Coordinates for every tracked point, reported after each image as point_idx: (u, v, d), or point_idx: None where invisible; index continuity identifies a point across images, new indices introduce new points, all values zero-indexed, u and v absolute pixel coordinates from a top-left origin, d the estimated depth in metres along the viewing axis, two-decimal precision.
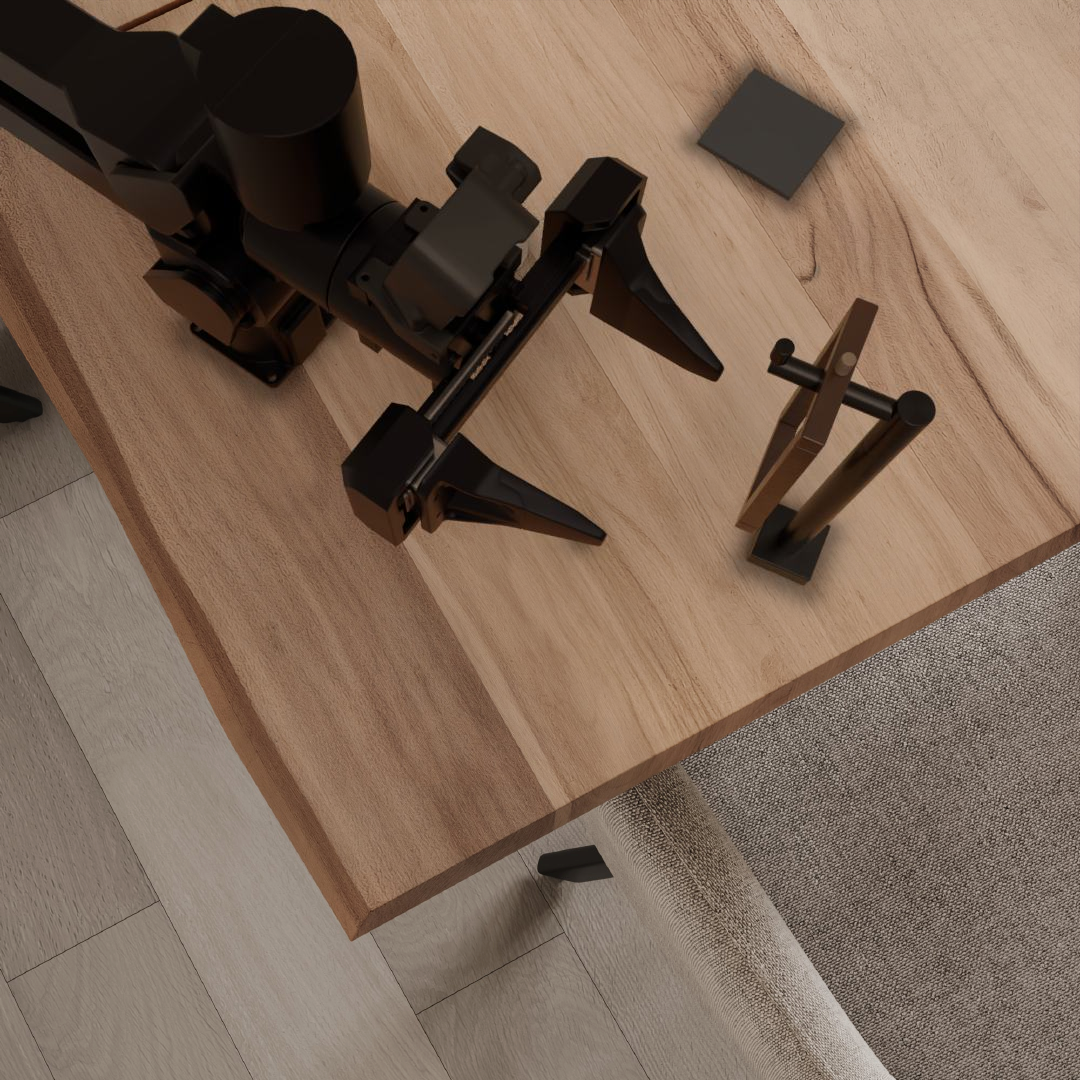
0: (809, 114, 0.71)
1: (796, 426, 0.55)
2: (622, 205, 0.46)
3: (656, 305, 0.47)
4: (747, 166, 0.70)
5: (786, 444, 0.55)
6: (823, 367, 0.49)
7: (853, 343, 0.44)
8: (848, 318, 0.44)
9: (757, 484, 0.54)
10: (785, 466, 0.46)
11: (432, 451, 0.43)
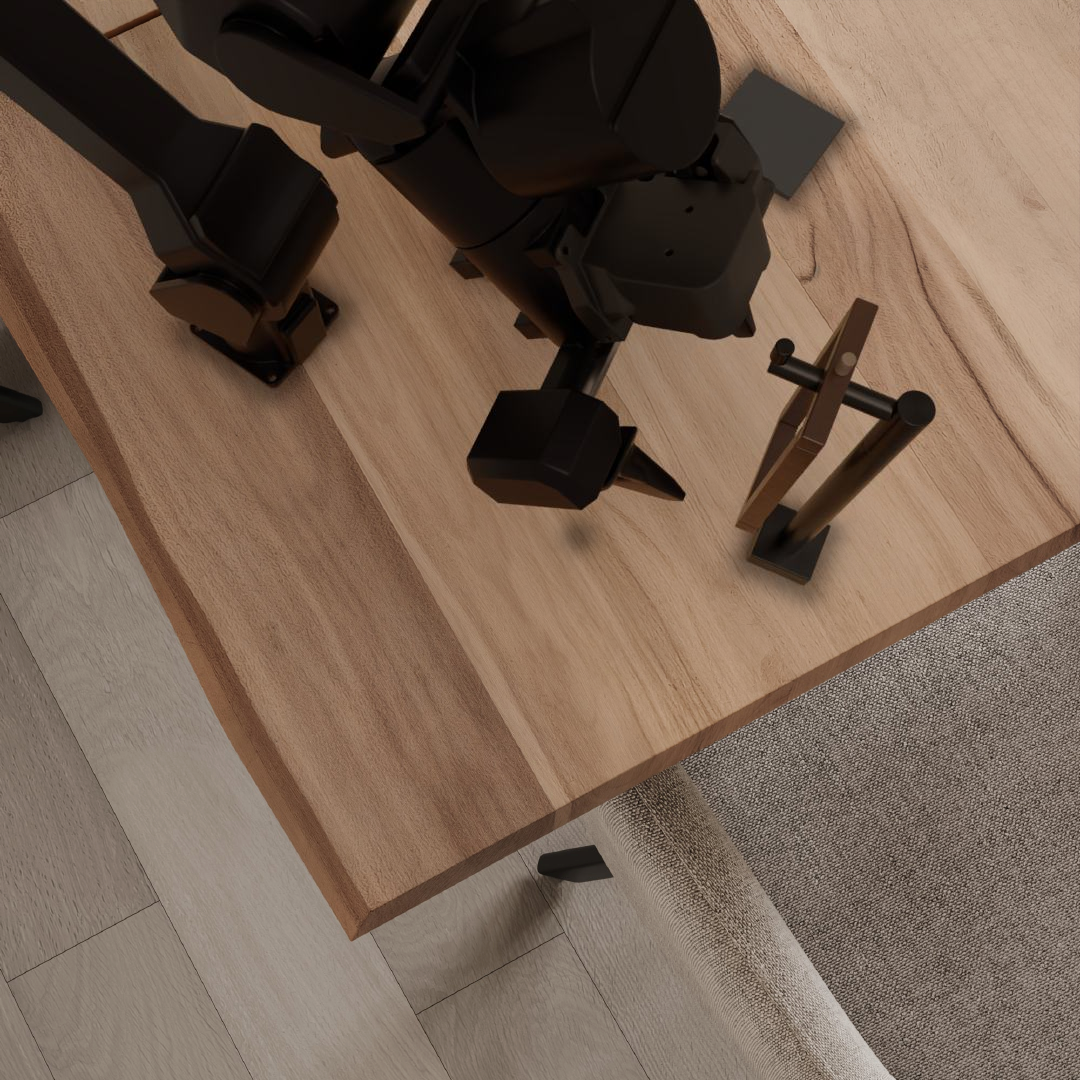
0: (809, 114, 0.71)
1: (796, 426, 0.55)
2: None
3: None
4: None
5: (786, 444, 0.55)
6: (823, 367, 0.49)
7: (853, 343, 0.44)
8: (848, 318, 0.44)
9: (757, 484, 0.54)
10: (785, 466, 0.46)
11: None
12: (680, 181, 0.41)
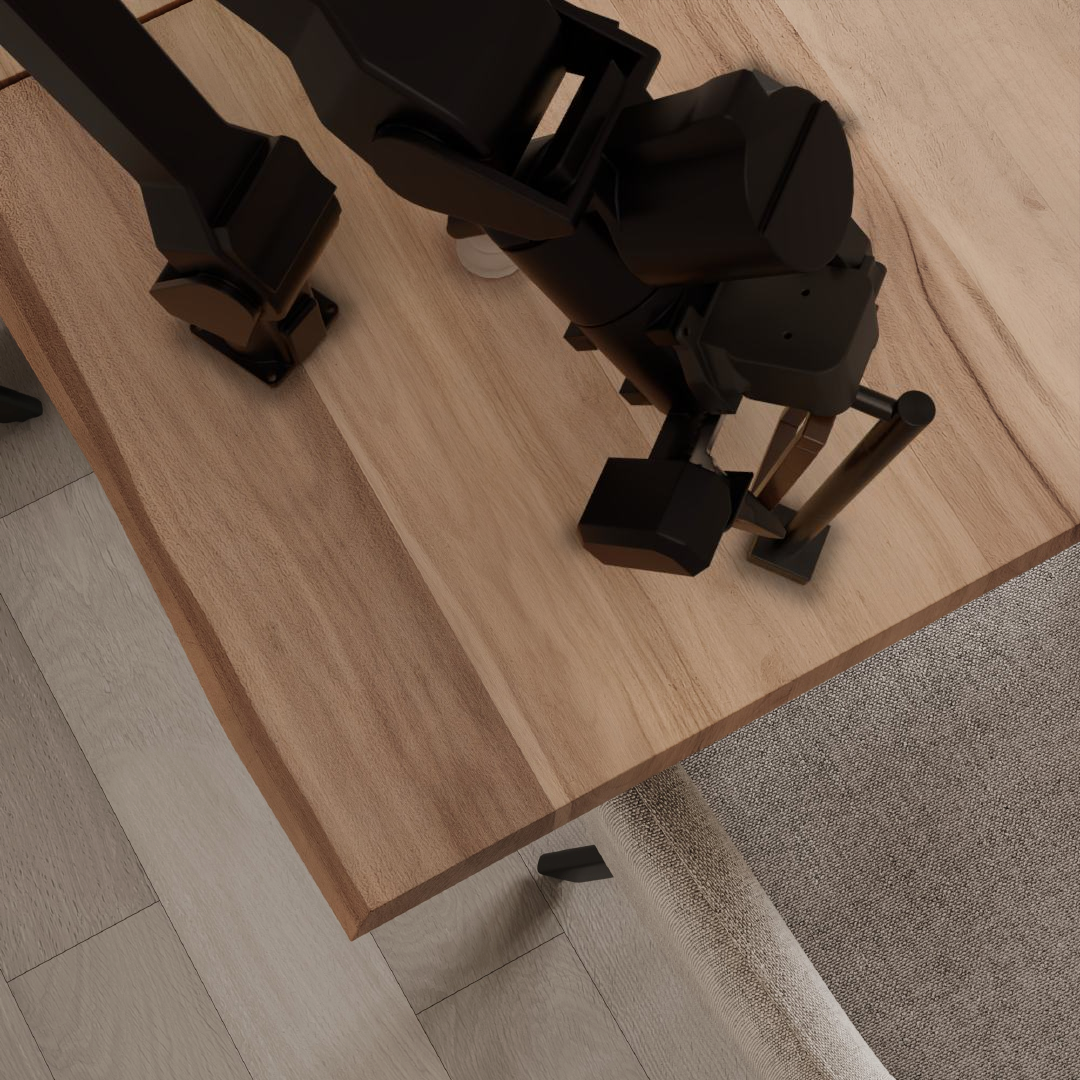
0: None
1: (796, 426, 0.55)
2: None
3: None
4: None
5: (786, 444, 0.55)
6: None
7: None
8: None
9: (757, 484, 0.54)
10: (785, 466, 0.46)
11: None
12: None
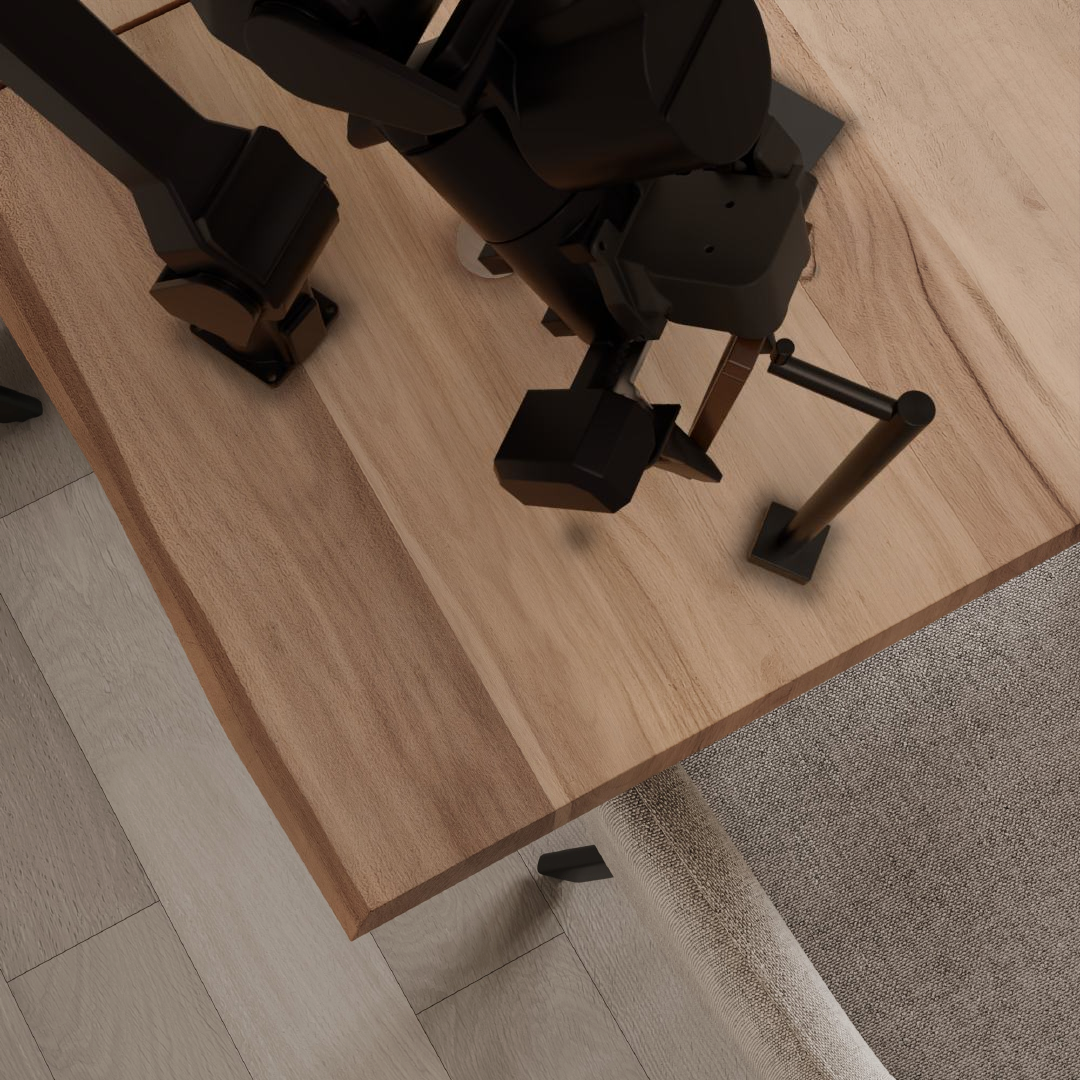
0: (809, 114, 0.71)
1: None
2: None
3: None
4: None
5: None
6: None
7: None
8: None
9: None
10: (714, 397, 0.43)
11: None
12: (719, 175, 0.40)
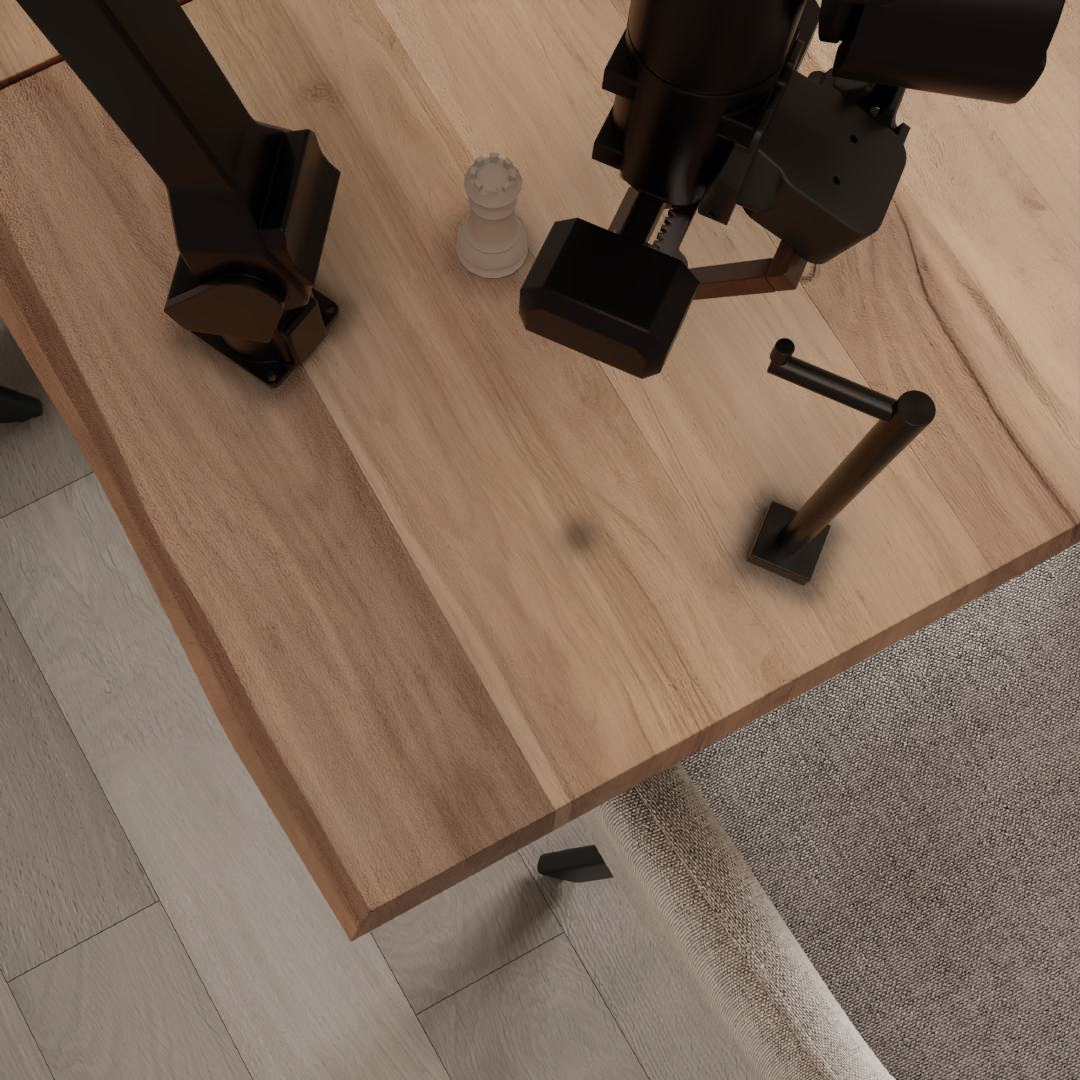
0: None
1: None
2: None
3: None
4: None
5: None
6: None
7: None
8: None
9: None
10: (724, 285, 0.46)
11: None
12: (847, 101, 0.41)
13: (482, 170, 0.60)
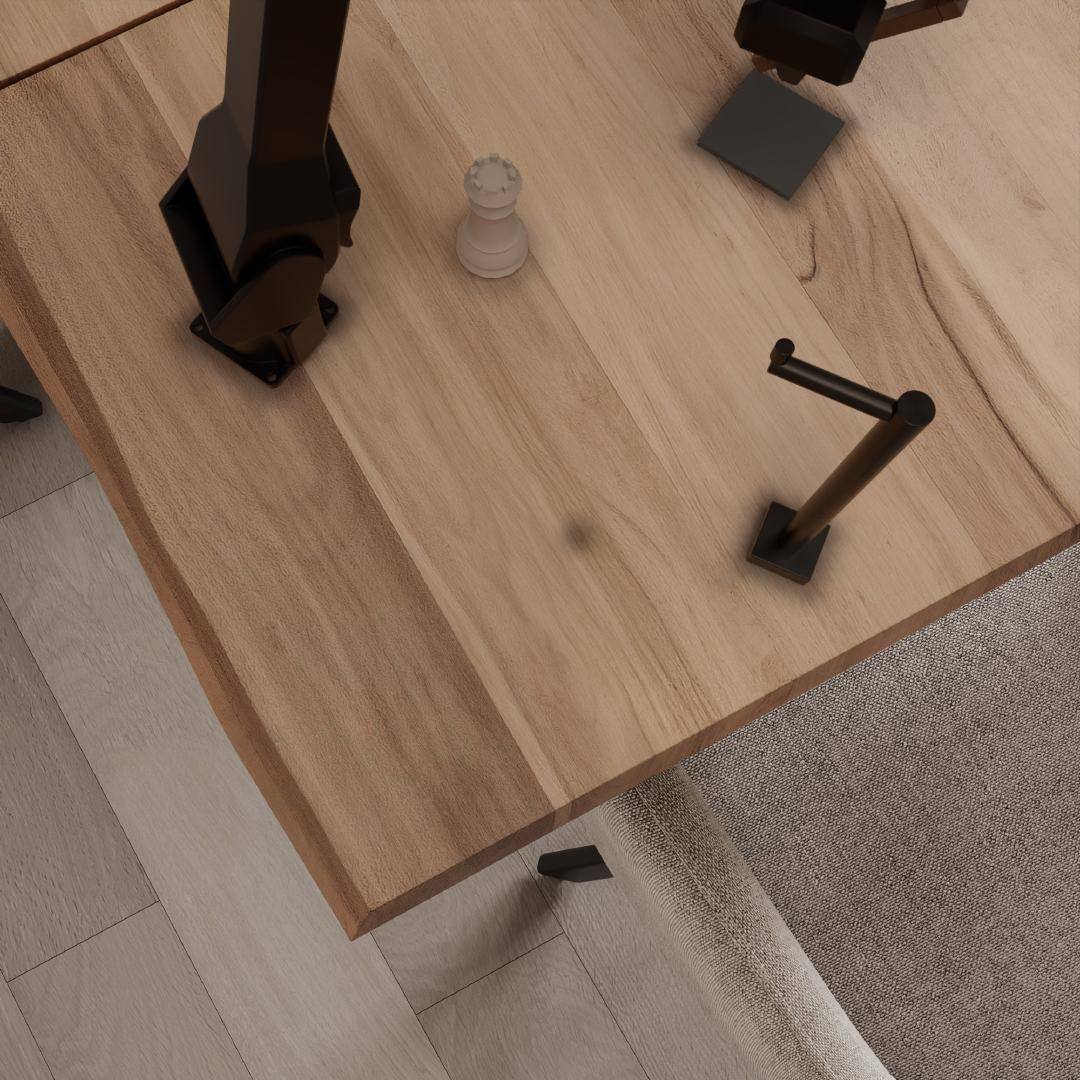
0: (809, 114, 0.71)
1: None
2: None
3: None
4: (747, 166, 0.70)
5: None
6: None
7: None
8: None
9: None
10: (896, 21, 0.55)
11: None
12: None
13: (482, 170, 0.60)
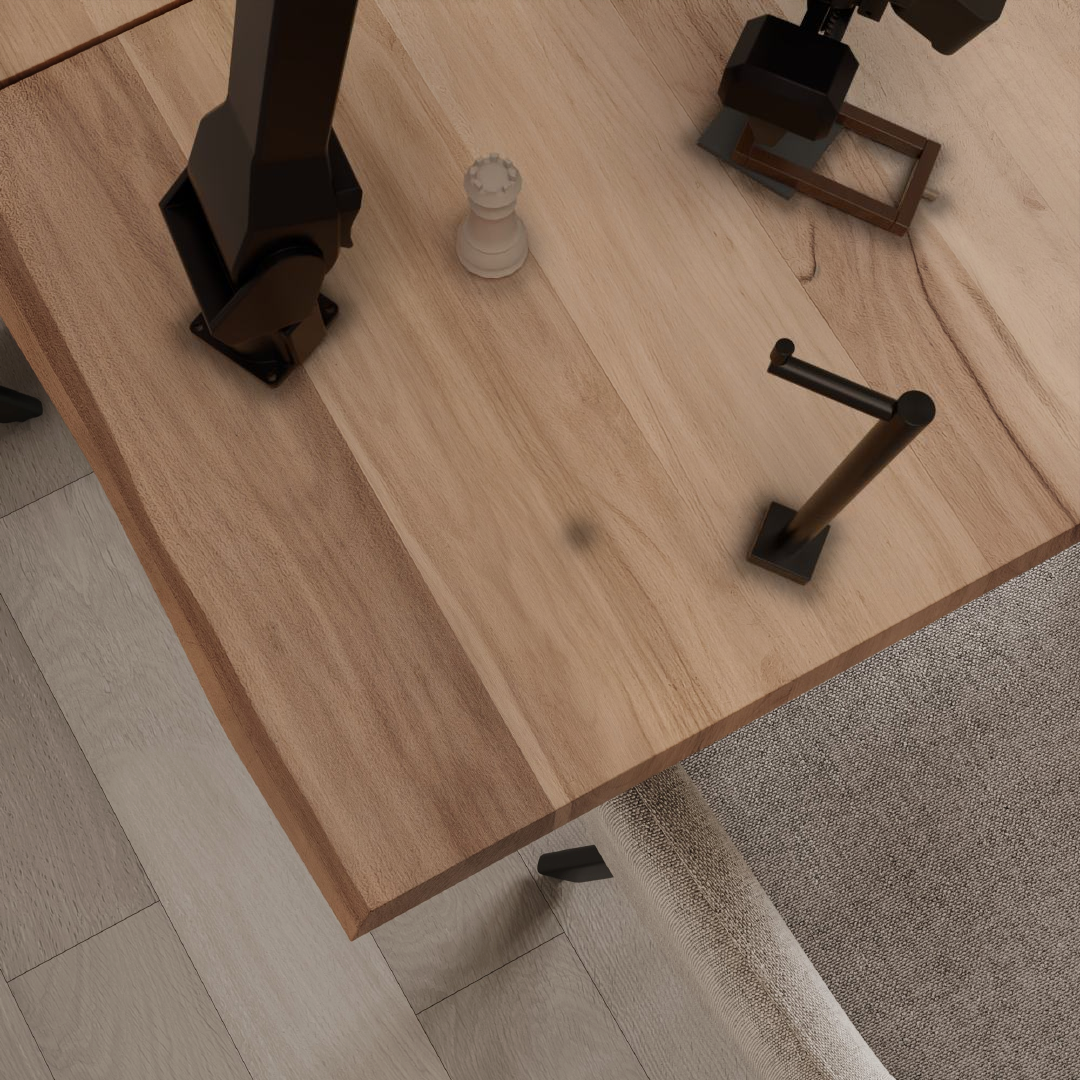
0: None
1: None
2: None
3: None
4: None
5: None
6: (870, 130, 0.70)
7: None
8: (936, 156, 0.70)
9: None
10: (861, 210, 0.69)
11: None
12: None
13: (482, 170, 0.60)
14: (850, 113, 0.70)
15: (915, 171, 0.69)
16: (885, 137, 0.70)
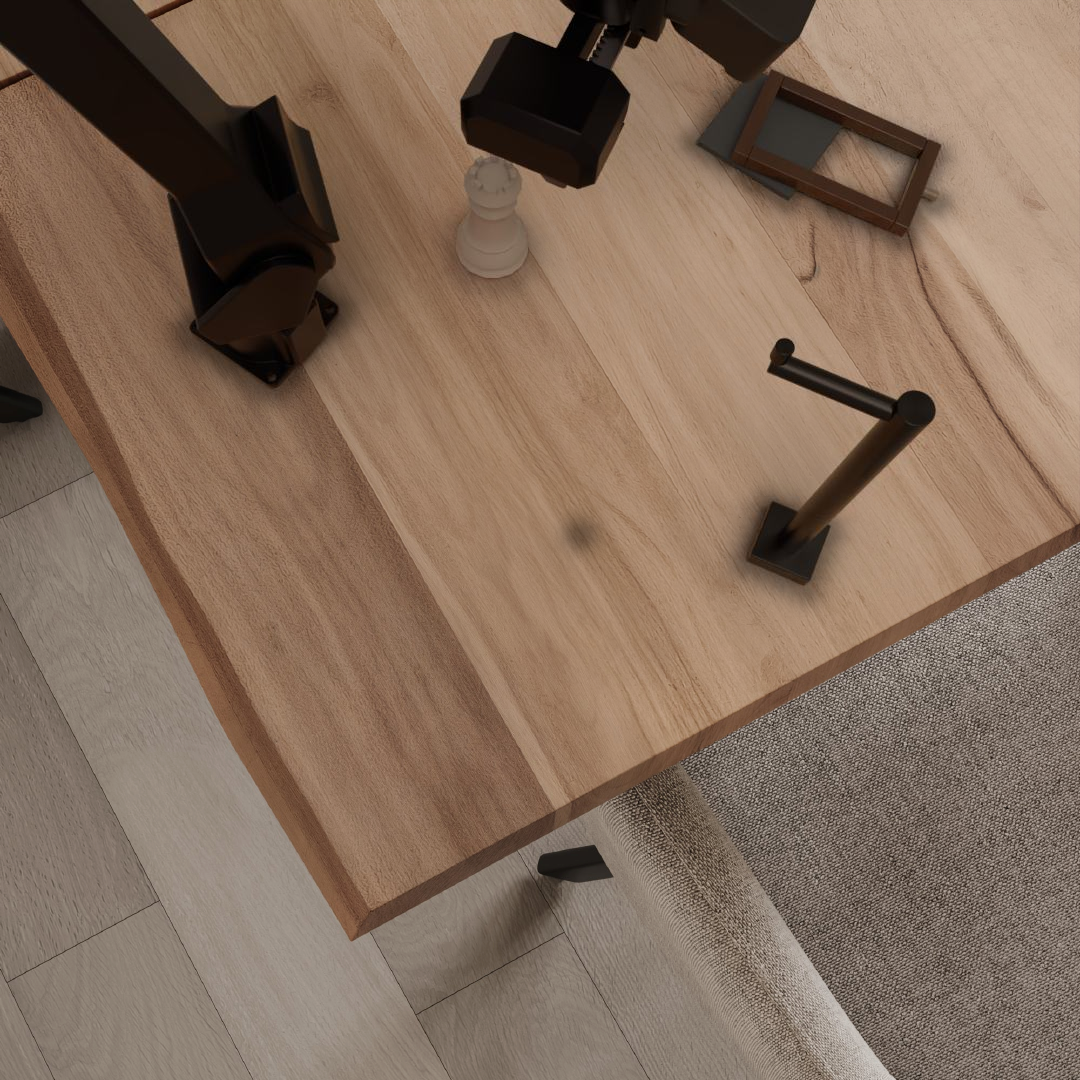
0: (809, 114, 0.71)
1: (778, 95, 0.71)
2: None
3: None
4: None
5: None
6: (870, 130, 0.70)
7: None
8: (936, 156, 0.70)
9: None
10: (861, 210, 0.69)
11: None
12: None
13: (482, 170, 0.60)
14: (850, 113, 0.70)
15: (915, 171, 0.69)
16: (885, 137, 0.70)
